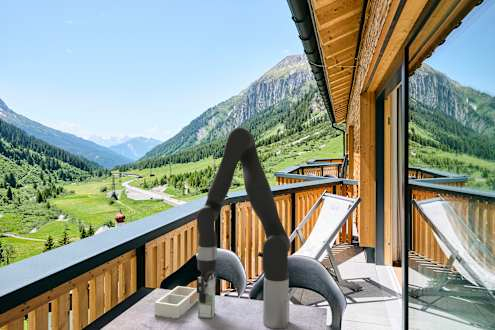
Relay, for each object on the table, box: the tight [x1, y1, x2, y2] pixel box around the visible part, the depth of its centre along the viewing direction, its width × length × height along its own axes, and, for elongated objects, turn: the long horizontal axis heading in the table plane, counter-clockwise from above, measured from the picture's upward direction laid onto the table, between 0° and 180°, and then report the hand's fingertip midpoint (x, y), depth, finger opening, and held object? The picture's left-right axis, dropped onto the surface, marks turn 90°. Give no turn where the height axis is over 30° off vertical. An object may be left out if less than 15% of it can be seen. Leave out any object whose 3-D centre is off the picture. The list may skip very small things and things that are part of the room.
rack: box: [154, 285, 198, 319], centre depth 148 cm, size 10×19×5 cm, turn 163°
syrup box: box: [197, 277, 216, 319], centre depth 141 cm, size 6×6×14 cm
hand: (206, 298), depth 141 cm, fingers open, 7 cm apart
